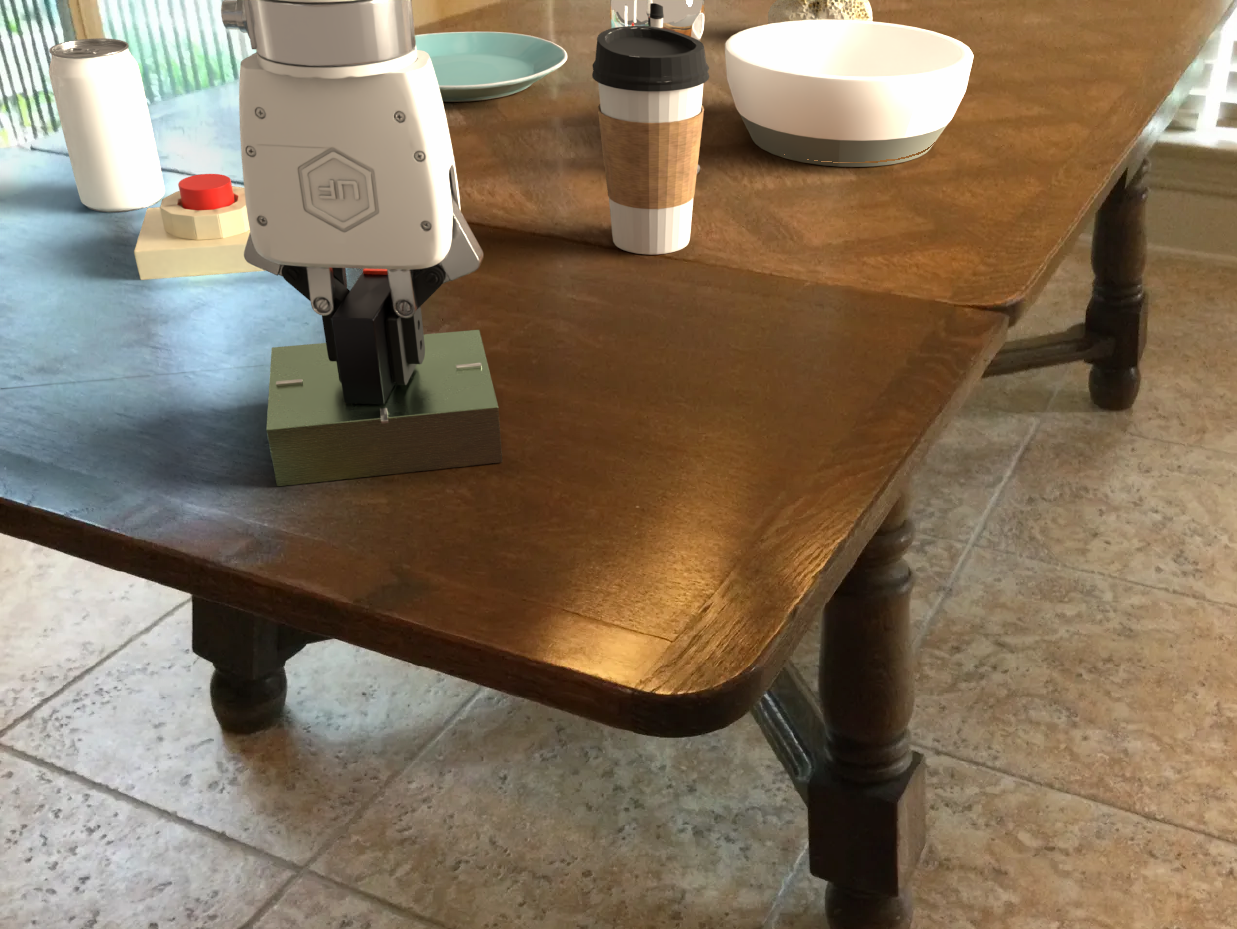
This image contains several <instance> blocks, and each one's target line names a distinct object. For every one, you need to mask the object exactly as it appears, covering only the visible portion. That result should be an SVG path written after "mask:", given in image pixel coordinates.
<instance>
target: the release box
mask: <svg viewBox="0 0 1237 929" xmlns="http://www.w3.org/2000/svg"><path fill="white" fill-rule="evenodd" d="M232 190H233V195H234V200H235V203H233V204H231V205H230V206H226V207H222V208H218V209H214V210H199V211H197V210H189V209H184V208H183V206H182V201H181V196H180V191H179V190H178V191H174V192H173V193H171V194H169V195H167V196H165V197H164V198H163V197H162V199H161V201H160V206H158V207H157V206H156V207H154V206H153V207H147V208H146V211H145V215H144V218H143V221H142V225H141V228H140V231H139V234H138V237H137V241H136V244H135V247H134V249H133V254H134V255H133V256H134V259H135V262H136V263H135V264H136V267H137V272H138V276H139V280H140V281H147V280H160V279H161V280H162V279H173V278H174V279H176V278H187V277H202V276H203V277H204V276H215V275H228V274H241V273H254V272H255V273H256V272H266V271H265V270H263V269H261V268H258V267H256V266H254V265H251V264H250V263H248V262H247V261H246V260H245V258H244V250H245V247H246V243H247V240H248V237H249V233H250V228H249V222H248V215H247V208H246V200H245V190H244V186H233V185H232Z"/></svg>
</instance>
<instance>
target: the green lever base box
mask: <svg viewBox="0 0 1237 929" xmlns="http://www.w3.org/2000/svg"><path fill="white" fill-rule="evenodd" d="M423 334H424V333H423ZM424 343H425V357H424V360H423V362H422V364H417V365H416V367H415V369H414V371H413V373H412V375H411V377H410V379H409V381H408V383H407V384H406V385H397V384H396V383H395V385H394V387H393V389H392V391H391V393H390V394H389V396H388V398H387V400H386V402H385V404H384V405H380V404H352V403H344V398H343V391H342V385H341V383H340V381H339V375H338V369H337V362H336V361H330V360H329V358H328V353H327V346H326V342H319V343H308V344H296V345H285V346H284V345H283V346H275V347H274V346H273V347H271V350H270V351H271V352H270V353H271V354H270V366H269V367H270V368H269V383H268V399H267V413H266V414H267V415H266V428H265V429H266V430H265V431H266V434H267V436H266V437H267V441H268V447H269V451H270V457H271V462H272V468H273V472H274V478H275V483H276V486H277V487H286V486H296V485H305V484H314V483H323V482H334V481H342V480H343V481H344V480H351V479H359V478H361V479H362V478H371V477H378V476H389V475H398V474H407V473H416V472H426V471H435V470H444V469H454V468H463V467H473V466H482V465H492V464H499V463H503V450H502V437H501V425H500V413H499V404H498V400H497V395H496V391H495V388H494V384H493V380H492V376H491V372H490V367H489V363H488V359H487V355H486V352H485V347H484V342H483V338H482V335H481V331H480V329H471V330H460V331H449V332H438V333H437V332H436V333H426V334H424Z"/></svg>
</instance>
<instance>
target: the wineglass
mask: <svg viewBox="0 0 1237 929" xmlns="http://www.w3.org/2000/svg"><path fill="white" fill-rule="evenodd" d="M705 2H706V1H705V0H610V4H609V5H610V6H609V18H610V29H611V28H615V27H625V26H652V27H658V28H664V29H668V30H672V31H675V32H679V33H682V34H685V35H688V36H690V37H693V38H695V39H697V40H699V41H700V42H701V39H702V37H703V34H704V31H705V30H704V29H705V23H706V22H705V21H706V4H705ZM701 171H702V168H701V165H700V164H699V163H698V166H697V175H696V178H697V177H698V176H699V175H700V174H701Z"/></svg>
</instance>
